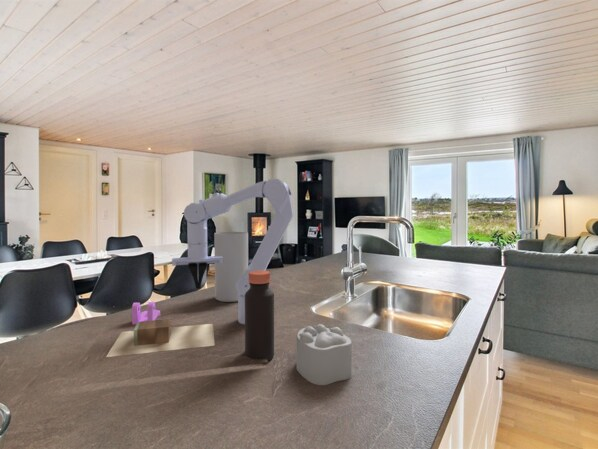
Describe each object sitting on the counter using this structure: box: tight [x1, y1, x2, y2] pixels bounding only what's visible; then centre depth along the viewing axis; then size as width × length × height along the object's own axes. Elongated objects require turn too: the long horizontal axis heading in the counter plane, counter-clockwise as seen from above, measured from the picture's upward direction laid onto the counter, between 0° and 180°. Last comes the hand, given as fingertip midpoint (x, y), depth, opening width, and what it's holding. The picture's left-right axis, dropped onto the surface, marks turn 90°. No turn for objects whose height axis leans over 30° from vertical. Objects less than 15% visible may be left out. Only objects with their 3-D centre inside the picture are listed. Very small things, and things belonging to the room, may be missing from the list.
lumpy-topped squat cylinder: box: [296, 323, 353, 386], centre depth 74 cm, size 10×13×9 cm
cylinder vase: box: [213, 231, 249, 303], centre depth 129 cm, size 12×12×25 cm
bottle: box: [244, 270, 275, 362], centre depth 79 cm, size 7×7×20 cm
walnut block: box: [133, 318, 172, 346], centre depth 87 cm, size 4×6×8 cm
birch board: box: [105, 323, 216, 358], centre depth 88 cm, size 24×16×1 cm, turn 106°
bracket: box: [131, 301, 161, 326], centre depth 105 cm, size 13×6×7 cm, turn 11°
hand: (198, 287), depth 103 cm, fingers closed
